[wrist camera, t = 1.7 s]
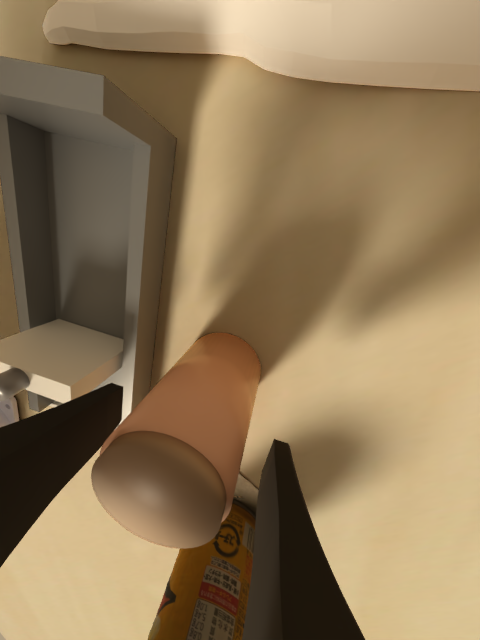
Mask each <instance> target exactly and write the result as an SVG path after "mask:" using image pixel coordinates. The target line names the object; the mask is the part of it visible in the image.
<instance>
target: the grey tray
mask: <svg viewBox="0 0 480 640" xmlns="http://www.w3.org/2000/svg"><path fill="white" fill-rule="evenodd" d="M176 139H177V138H176V137H174V136H173V135H172V134H171V133H170V132H169V131H167V130H166V129H165V128H164V127H163V126H162V125H160V124H159V123H158V122H157V121H156V120H155V119H154V118H152V117H151V116H150V115H149V114H148V113H147V112H145V111H144V110H143V109H142V108H141V107H140V106H138V105H137V104H136V103H135V102H134V101H133V100H132V99H130V98H129V97H128V96H127V95H126V94H125V93H123V92H122V91H121V90H120V89H119V88H118V87H116V86H115V85H114V84H113V83H112V82H111V81H109V80H108V79H107V78H106V77H105V76H104V75H99V74H93V73H88V72H83V71H77V70H72V69H67V68H61V67H56V66H51V65H45V64H40V63H35V62H29V61H24V60H19V59H13V58H8V57H3V56H0V179H1V186H2V194H3V202H4V210H5V218H6V226H7V234H8V242H9V250H10V257H11V265H12V273H13V281H14V289H15V297H16V305H17V313H18V321H19V329H20V332H23V331H26V330H28V329H31V328H34V327H37V326H40V325H43V324H46V323H48V322H51V321H54V320H57V319H61V320H64V321H67V322H70V323H74V324H77V325H80V326H83V327H86V328H89V329H92V330H96V331H99V332H102V333H105V334H108V335H111V336H114V337H117V338H121V339H124V342H123V361H122V368H120V369H119V370H118V371H116V372H115V373H114V374H112V375H111V376H110V377H109V378H107V379H106V380H105V381H103V382H102V383H101V384H99V385H98V386H97V387H96V388H94V389H93V390H96V389H98V388H100V387H103V386H105V385H107V384H110V383H114V384H117V385H120V386H123V404H122V420H121V422H120V423H119V424H118V426H119V425H120V424H121V423H122V422H123V421H124V419H125V418H126V417H127V416H128V415H129V414H130V413H131V412H132V411H133V410H134V408H135V407H136V406H137V405H138V404H139V403H140V402H141V401H142V400H143V399H144V398H145V396H146V395H147V394H148V393H149V392H150V382H151V373H152V363H153V354H154V345H155V335H156V326H157V317H158V307H159V298H160V289H161V279H162V270H163V261H164V251H165V242H166V232H167V223H168V214H169V204H170V195H171V186H172V176H173V167H174V158H175V148H176ZM93 390H92V391H93ZM27 392H28V400H29V407H30V409H32V410H34V411H37V412H40V411H41V410H43V409H44V408H46V407H47V406H52V407H56V406H59V405H61V404H64V403H61V402H58V401H55V400H53V399H50V398H47V397H44V396H42V395H39V394H36V393H33V392H31V391H28V390H27ZM90 392H91V391H90ZM118 426H117V427H118ZM117 427H116V428H117Z"/></svg>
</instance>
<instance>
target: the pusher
mask: <svg viewBox="0 0 480 640" xmlns="http://www.w3.org/2000/svg"><path fill="white" fill-rule="evenodd" d="M123 342H124V339H121V338H117V337H114V336H111V335H108V334H105V333H102V332H99V331H96V330H92V329H89V328H86V327H83V326H80V325H77V324H74V323H70V322H67V321H64V320H61V319H57V320H54V321H51V322H48V323H46V324H43V325H40V326H37V327H34V328H31V329H28V330H26V331H23V332H20V333H17V334H14V335H11V336H9V337H6V338H3V339H0V401H5V400H7V399H9V398H10V397H12V396H14V395H16V394H17V393H19V392H21V391H23V390H24V389H25V390H28V391H31V392H33V393H36V394H39V395H42V396H44V397H47V398H50V399H53V400H55V401H58V402H61V403H66V402H68V401H71V400H73V399H75V398H78V397H80V396H82V395H84V394H87V393H89V392H90V391H92V390H93V389H94V388H96V387H97V386H98V385H99V384H101V383H102V382H103V381H105V380H106V379H107V378H109V377H110V376H111V375H112V374H114V373H115V372H116V371H118V370H119V369H120V368H122V361H123Z"/></svg>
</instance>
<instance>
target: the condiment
mask: <svg viewBox="0 0 480 640" xmlns="http://www.w3.org/2000/svg"><path fill="white" fill-rule="evenodd" d="M258 492H259V490H257V489H256V488H255V487H254V486H253V485H252V484H251V483H250V482H249V481H247V480H246V479H245V478H244V477H243V476H241V475H240V474H238V479H237V484H236V488H235V493H234V496H237V498H235V497H233V502H232V506H231V510H230V512H229V514H228V516H227V517H226V519H225V520H224V521H223V522H222V523H221V526H220V529H219V531H218V533H217V534H216V536H215V537H214V538H213V539H212V540H211V541H209V542H208V543H206V544H204V545H201V546H198V547H194V548H186V549H183V548H180V550H179V554H178V557H177V559H176V562H175V564H174V568H173V571H172V573H171V576H170V579H169V581H168V583H167V587H166V590H165V593H164V596H163V599H162V602H161V604H160V607H159V609H158V612H157V615H156V618H155V620H154V622H153V626H152V629H151V630H150V633H149V636H148V640H242V636H243V630H244V623H245V616H246V610H247V603H248V596H249V589H250V582H251V573H252V562H253V549H254V536H255V523H256V510H257V498H258ZM238 496H241V497H243V498H239V497H238Z"/></svg>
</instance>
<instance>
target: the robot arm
mask: <svg viewBox="0 0 480 640" xmlns="http://www.w3.org/2000/svg"><path fill="white" fill-rule="evenodd" d="M122 404H123V386H120V385H117V384H114V383H110V384H107V385H105V386H103V387H100V388H98V389H96V390H93V391H91V392H89V393H87V394H84V395H82V396H80V397H78V398H75V399H73V400H71V401H68V402H66V403H64V404H61V405H59V406H56V407H54V408H51V409H49V410H46V411H44V412H41V413H39V414H36V415H33V416H31V417H28V418H26V419H23V420H20V421H19V415H18V408H17V401H16V399H15V397H14V396H12V397H10V398H9V399H7V400H5V401H0V567H1V566H2V565H3V563H4V562H5V560H6V559H7V558H8V556H9V555H10V554H11V552H12V551H13V550H14V549H15V547H16V546H17V545H18V543H19V542H20V541H21V539H22V538H23V537H24V535H25V534H26V533H27V531H28V530H29V529H30V528H31V526H32V525H33V524H34V523H35V521H36V520H37V519H38V517H39V516H40V515H41V514H42V512H43V511H44V510H45V509H46V507H47V506H48V505H49V504H50V502H51V501H52V500H53V499H54V498H55V496H56V495H57V494H58V493H59V492H60V491H61V490H62V488H63V487H64V486H65V485H66V484H67V483H68V482H69V481H70V480H71V479H72V478H73V477H74V475H75V474H76V473H77V472H78V471H79V470H80V469H81V468H82V467H83V466H84V465H85V464H86V463H87V461H88V460H89V459H90V458H91V457H92V456H93V455H94V454H95V453H96V452H97V451H98V450H99V448H100V447H101V446H102V445H103V444H104V442H105V441H106V439H107V438H108V437H109V436H110V435H111V434H112V433H113V431H114V430H115V429H116V427H117V426H118V424H119V423H120V422H121V420H122ZM242 640H365V638H364V636H363V634H362V632H361V630H360V628H359V626H358V624H357V622H356V620H355V618H354V616H353V614H352V612H351V610H350V608H349V606H348V604H347V602H346V600H345V598H344V596H343V594H342V592H341V590H340V588H339V585H338V583H337V581H336V579H335V577H334V574H333V572H332V570H331V568H330V565H329V563H328V561H327V558H326V556H325V554H324V551H323V549H322V547H321V544H320V542H319V539H318V537H317V534H316V531H315V529H314V526H313V523H312V521H311V518H310V515H309V512H308V509H307V506H306V503H305V500H304V497H303V494H302V491H301V488H300V485H299V481H298V478H297V474H296V470H295V467H294V463H293V459H292V454H291V450H290V446H289V444H287V443H284V442H282V441H279V440H276V439H274V441H273V444H272V446H271V449H270V452H269V454H268V457H267V460H266V462H265V465H264V467H263V470H262V474H261V480H260V486H259V492H258V498H257V510H256V523H255V536H254V549H253V562H252V573H251V582H250V589H249V596H248V603H247V610H246V616H245V623H244V630H243V636H242Z"/></svg>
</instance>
